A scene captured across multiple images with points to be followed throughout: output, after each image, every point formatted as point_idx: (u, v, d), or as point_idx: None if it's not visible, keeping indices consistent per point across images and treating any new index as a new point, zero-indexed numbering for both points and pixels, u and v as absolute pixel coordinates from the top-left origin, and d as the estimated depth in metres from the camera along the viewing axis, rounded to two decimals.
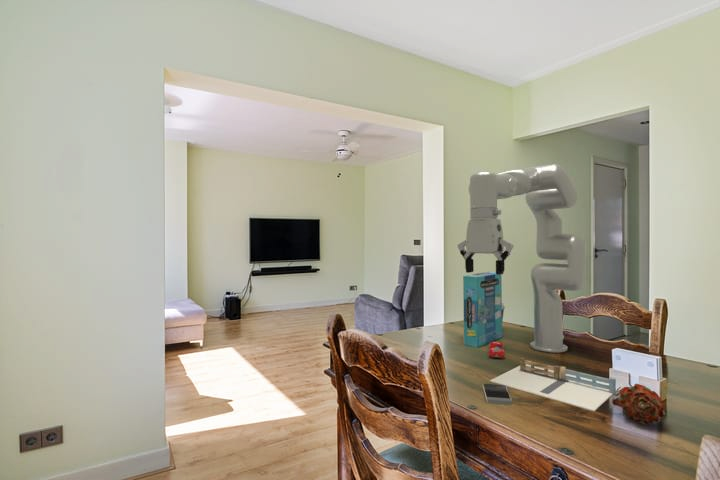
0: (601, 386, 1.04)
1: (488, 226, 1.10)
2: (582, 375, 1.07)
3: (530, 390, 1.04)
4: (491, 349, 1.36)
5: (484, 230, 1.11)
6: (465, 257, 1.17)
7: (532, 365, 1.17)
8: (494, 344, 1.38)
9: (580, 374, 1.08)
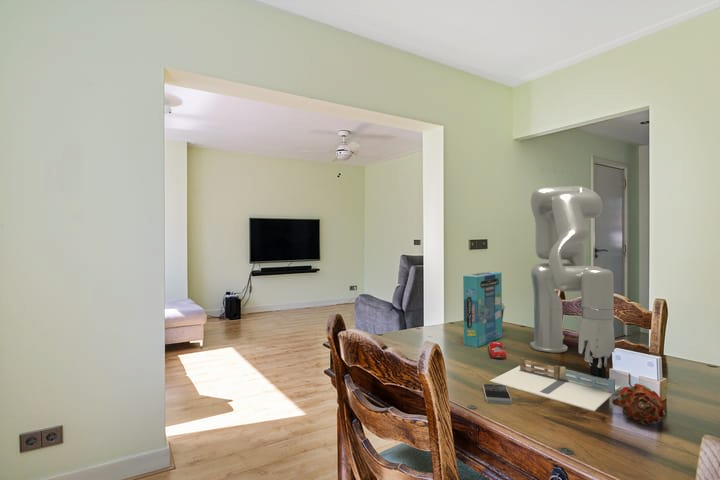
0: (600, 386, 1.04)
1: (612, 326, 1.06)
2: (582, 375, 1.07)
3: (530, 390, 1.04)
4: (492, 349, 1.35)
5: (610, 331, 1.05)
6: (600, 366, 1.05)
7: (532, 365, 1.17)
8: (494, 344, 1.38)
9: (580, 374, 1.07)
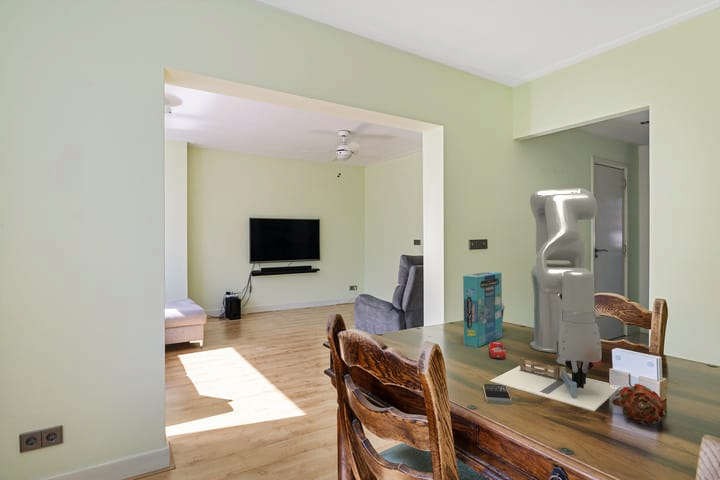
0: (569, 389, 1.02)
1: (593, 333, 1.00)
2: (565, 376, 1.06)
3: (530, 390, 1.04)
4: (492, 349, 1.35)
5: (588, 337, 1.00)
6: (575, 370, 1.02)
7: (532, 365, 1.17)
8: (494, 344, 1.38)
9: (565, 375, 1.07)
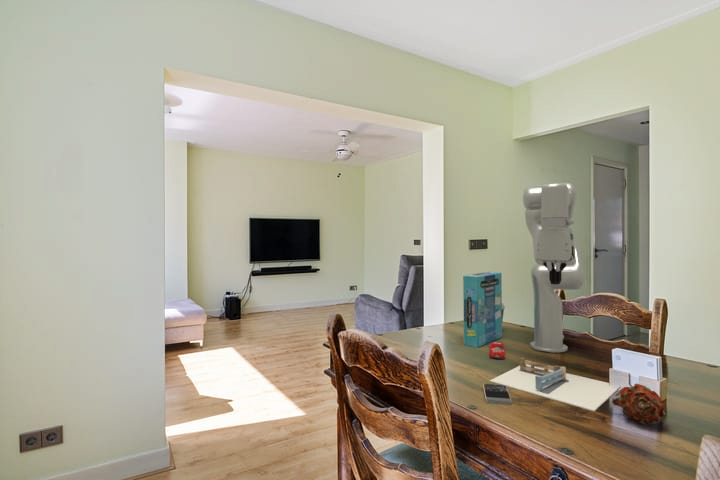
0: None
1: (561, 235, 1.16)
2: None
3: (530, 390, 1.04)
4: (491, 349, 1.35)
5: (557, 239, 1.16)
6: (549, 269, 1.19)
7: (532, 365, 1.17)
8: (495, 344, 1.38)
9: None
